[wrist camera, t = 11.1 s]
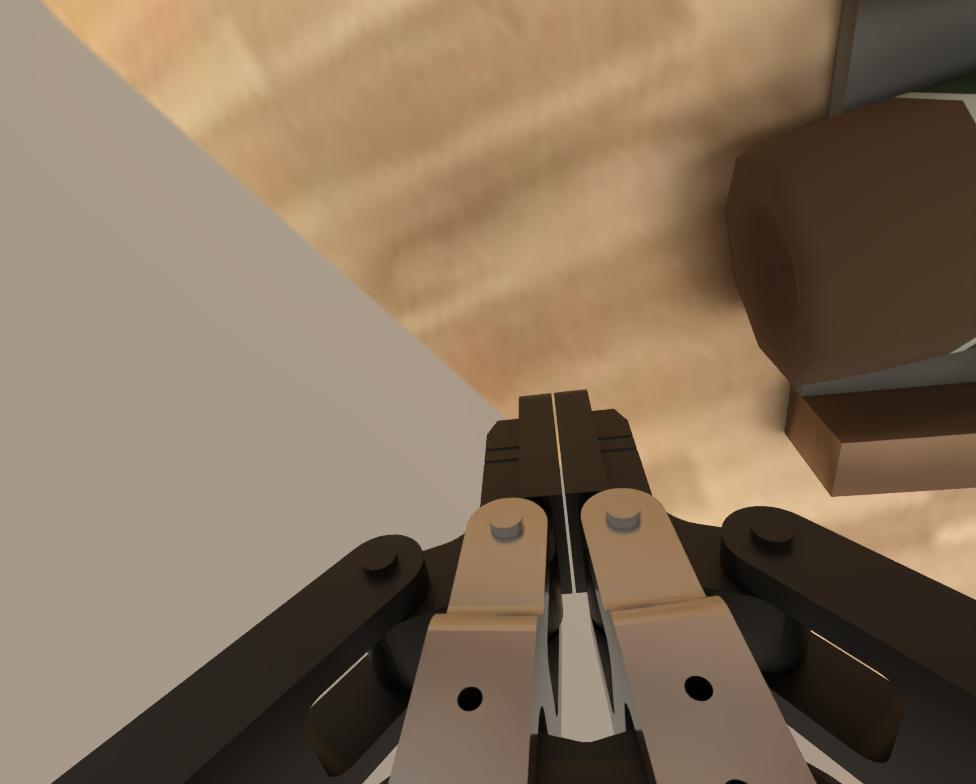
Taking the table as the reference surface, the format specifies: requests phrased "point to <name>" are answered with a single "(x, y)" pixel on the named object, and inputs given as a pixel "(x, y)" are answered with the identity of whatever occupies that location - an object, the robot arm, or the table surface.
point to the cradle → (920, 385)
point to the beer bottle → (861, 236)
